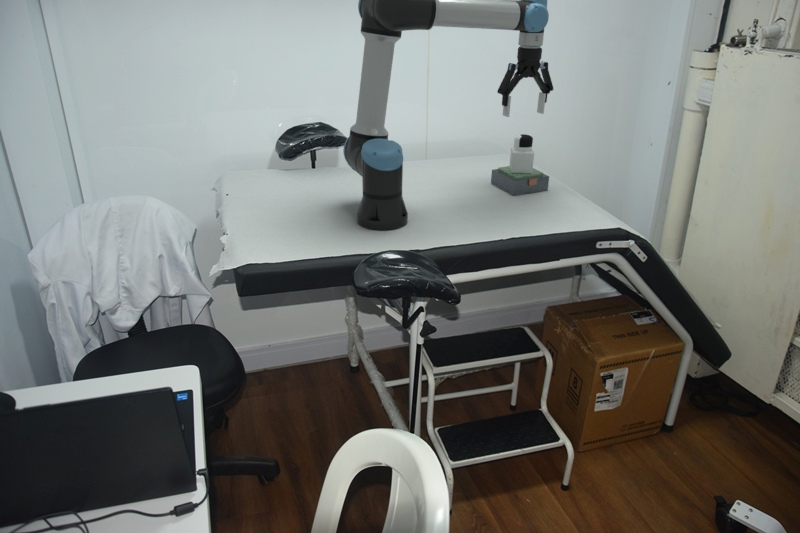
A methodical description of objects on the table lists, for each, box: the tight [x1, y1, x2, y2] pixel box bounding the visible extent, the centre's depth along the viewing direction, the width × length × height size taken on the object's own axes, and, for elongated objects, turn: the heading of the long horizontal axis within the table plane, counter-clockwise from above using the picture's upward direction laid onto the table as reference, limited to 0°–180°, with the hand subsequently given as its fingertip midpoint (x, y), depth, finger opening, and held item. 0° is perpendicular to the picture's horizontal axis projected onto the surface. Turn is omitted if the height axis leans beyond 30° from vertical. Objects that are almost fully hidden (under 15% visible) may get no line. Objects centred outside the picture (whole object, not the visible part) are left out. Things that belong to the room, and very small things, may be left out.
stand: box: [490, 165, 550, 197], centre depth 212 cm, size 14×15×6 cm
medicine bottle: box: [509, 133, 535, 173], centre depth 208 cm, size 7×7×12 cm
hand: (523, 114), depth 203 cm, fingers open, 13 cm apart
